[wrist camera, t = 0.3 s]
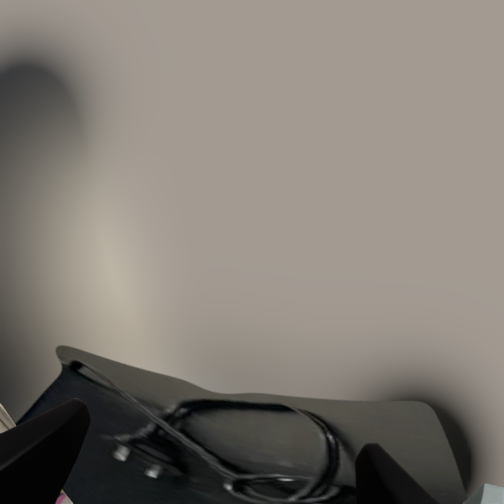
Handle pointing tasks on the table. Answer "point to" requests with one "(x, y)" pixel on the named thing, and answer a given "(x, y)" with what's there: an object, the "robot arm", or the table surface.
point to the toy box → (487, 495)
